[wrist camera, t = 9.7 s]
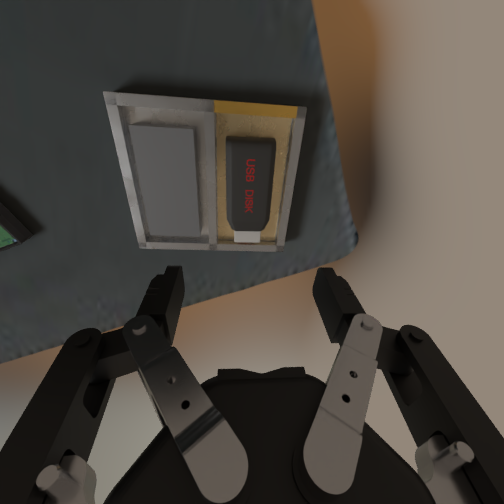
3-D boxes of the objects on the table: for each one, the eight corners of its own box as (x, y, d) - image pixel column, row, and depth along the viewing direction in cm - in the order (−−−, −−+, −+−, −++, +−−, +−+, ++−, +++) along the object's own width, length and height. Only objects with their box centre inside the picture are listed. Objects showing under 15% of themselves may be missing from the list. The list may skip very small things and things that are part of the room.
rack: (113, 91, 23) (101, 91, 21) (301, 106, 25) (307, 107, 23) (144, 239, 33) (138, 249, 31) (280, 243, 34) (283, 253, 32)
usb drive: (274, 137, 26) (278, 142, 23) (265, 234, 32) (268, 245, 30) (225, 135, 25) (224, 140, 23) (227, 234, 32) (226, 245, 30)
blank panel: (135, 122, 24) (128, 125, 22) (196, 126, 25) (193, 129, 23) (154, 227, 31) (150, 235, 29) (201, 228, 31) (199, 236, 30)
